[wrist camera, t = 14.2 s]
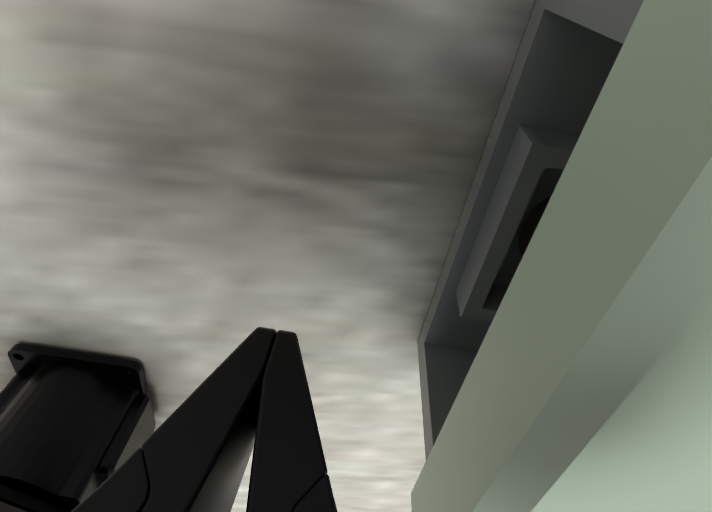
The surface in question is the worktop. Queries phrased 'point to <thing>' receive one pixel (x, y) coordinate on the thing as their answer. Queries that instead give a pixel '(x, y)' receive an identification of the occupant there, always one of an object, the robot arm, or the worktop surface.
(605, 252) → the lid
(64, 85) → the worktop surface
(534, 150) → the housing
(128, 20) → the worktop surface
